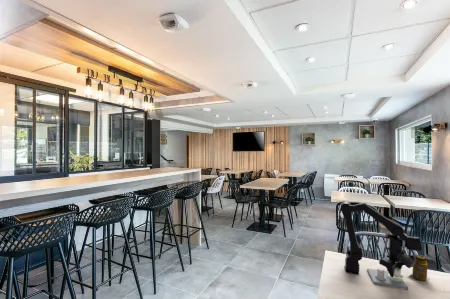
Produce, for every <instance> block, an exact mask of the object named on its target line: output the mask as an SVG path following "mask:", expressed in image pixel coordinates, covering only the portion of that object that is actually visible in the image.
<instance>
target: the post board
mask: <svg viewBox="0 0 450 299" xmlns="http://www.w3.org/2000/svg"><path fill="white" fill-rule="evenodd" d="M366 271H367V273H368V275H369V277H370V279H371V281H372V284H374V285H379V286H385V287H391V288H396V289H403V290H409V287H408V285H407V283H406V282H405V281H404V280H403V278H401V277H394V276H393V277H391V276H390V274H389V272H388V271H387V270H386V271H385V269H383V268H380V267H377V269H372V268H366Z"/></svg>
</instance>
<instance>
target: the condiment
mask: <svg viewBox="0 0 450 299" xmlns="http://www.w3.org/2000/svg"><path fill="white" fill-rule="evenodd" d="M413 255H414V256H415V257H416V263H415V264H414V266H413V267H412V273H411V274H410V275H409V276H407V278H408V279H410V280H413V281H415V282H417V283H420V284H422V285H426V284H427V283H428V282H429V281H430V279H431V278H429V277H428V266H429V265H428V262H427V261H428V258H427V257H426V256H424V255H422V254H413Z"/></svg>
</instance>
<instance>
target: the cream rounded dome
mask: <svg viewBox="0 0 450 299" xmlns="http://www.w3.org/2000/svg"><path fill="white" fill-rule="evenodd" d="M386 271H387V272H388V270H387V269H386ZM394 277H401V278H402V279H403V278H404V276H403V275H402V269H401V270H400V269H399V268H396V269H395V271H394Z"/></svg>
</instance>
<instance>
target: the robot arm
mask: <svg viewBox="0 0 450 299" xmlns="http://www.w3.org/2000/svg"><path fill="white" fill-rule="evenodd" d="M340 210H341V213H342V216H343V218H344V221H345V226H346V232H347V234H348V239H349V250H347V251H346V252H345V258H344V259H345V260H344V270H345V273H348V274H353V275H354V274H355V275H360V263H359V261H361V260H362V259H363V256H364V253H363V252H364V251H363V248H362V244H361V243H359V242H358V240H357V234H356V230H355V226H354V221H353V213H355V212H356V213H357V212H364V213H366V214H367V215H369V216H370V217H371V218H373V219H374V220H376V221H378V222H379V223H380V224H381V225H382V226H384V227H385V228H386V229H387V230H388V231H389V232H388V233H386V234H384V237H385V238H386V239H388V246H387V248H386V250H388V254H386V257H383V258H381V259H379V262H378V263H379V264H380V265H381V266H382V267H385V268H386V271H387V270H388V271H387V272H389V274H390V276H391V277H393V276H394V271H395V269H396V268H399V269H400V270H401V271H402V268H403V266H405V267H406V268H408V269H411V268H413V266H414V264H415V263H416V257H415V256H414V255H415V254H411V255H409V254H406V253H405V250H404V249H403V247H404V248H405V249H406V250H408V251H409V250H410V251H415V252H420V253H421V252H422V250H423V247H422V243H421V238H420V237H419V236H412V235H411V236H409V235H407V233H405V230H404V227H402V225H401V224H400V223H399V222H397V221H394V220H393V219H390V218H388V217H386V216H385V215H384V214H382V213H380V212H379V211H378V210H376V209H374V208H373V207H372V206H370V205H368V204H367V203H366V202H364V201H347V200H344V201H342V202H341V203H340Z"/></svg>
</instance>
